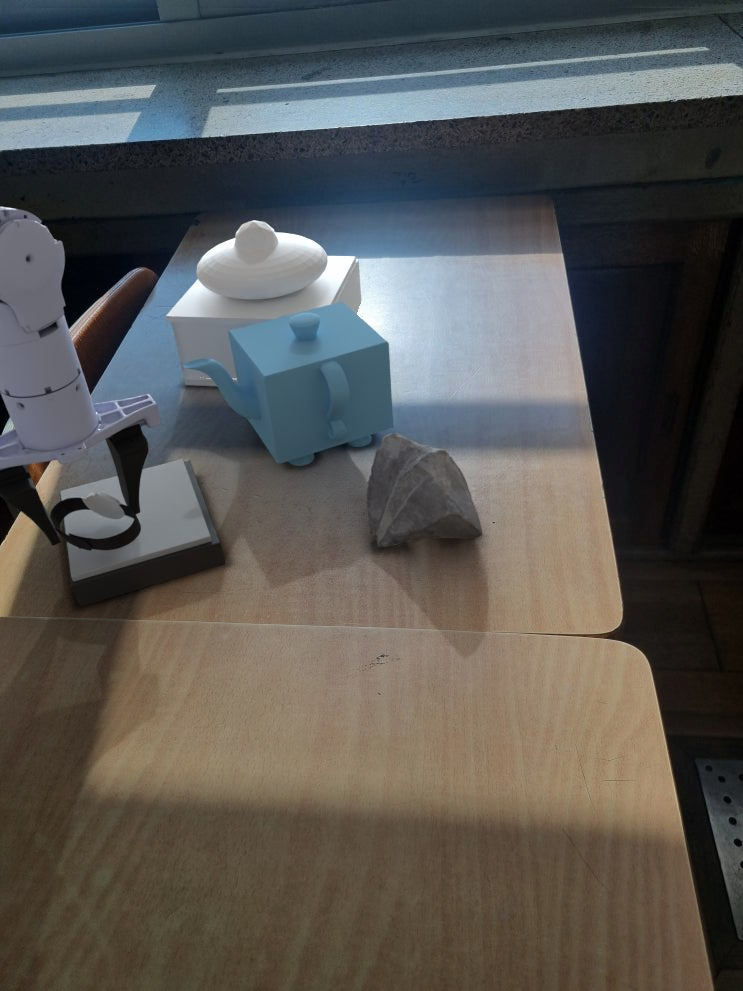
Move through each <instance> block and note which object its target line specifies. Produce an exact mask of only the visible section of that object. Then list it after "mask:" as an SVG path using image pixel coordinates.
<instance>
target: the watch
mask: <svg viewBox="0 0 743 991" xmlns="http://www.w3.org/2000/svg"><path fill="white" fill-rule="evenodd" d="M78 510H92V511H94V512H95V513H97V514H99V515H101V516H103V517H107V518H110V519H120V518H122V517H123V516H124V515H125V516H129V517H131V518H133V519H134V521H133V523H132V525H131V526H130V527H129V528H128V529H126V530H125V531H124V532H122V533H120V534H117V535H115V536H111V537H108V538H101V539H94V538H85V537H80V536H76V535H73V534H70V533H69V535H70V536H69V535H67V534H65V533H64V531H62V530H61V525H62V523H63V519H64V518H65V517H66V516H67V515H68V514H70V513H72V512H74V511H78ZM49 516H50V518H51V520H52V522H53V525H54V527H55V529H56V532H57V534H58V536H60V537H61V538H62V539H63V540H64V541H65V542H66V541H67V542H68V543H70V544H72V545H74V546H76V547H79V549H85V550H89V551H91V550H92V549H95V550H114V549H118V548H121V547H124V546H126V545H128V544H130V543H131V542H132V541H134V540H135V539H136V538H137V537H138V535H139V534H140V531H141V524H140V522H139V520H138V518H137V516H136V514H135V512H134V510H133V509H131V508H130V507H129V506H126V505H123V504H121V503H120V502H119V501H118V500H117V499H115V498H114V497H112V496H110V495H108V494H105V493H101V492H92V493H90V494H89V495H88V496H87V497H86V498H83V497H81V498H68V499H65V500H62V501H59V502H57V503H55V505H54V506H53V508H51V511H50V514H49Z"/></svg>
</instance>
